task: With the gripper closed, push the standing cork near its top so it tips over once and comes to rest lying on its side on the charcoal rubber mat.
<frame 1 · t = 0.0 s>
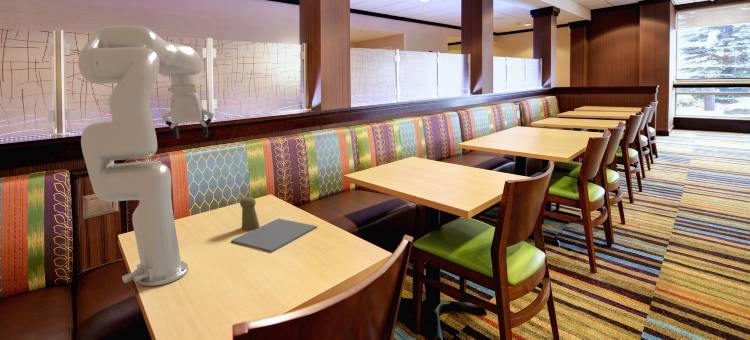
hand: (191, 138, 145), 31 cm above the table, tool pointing down, fingers open, 9 cm apart
cork: (250, 227, 142), on the table
mat: (275, 234, 134), on the table
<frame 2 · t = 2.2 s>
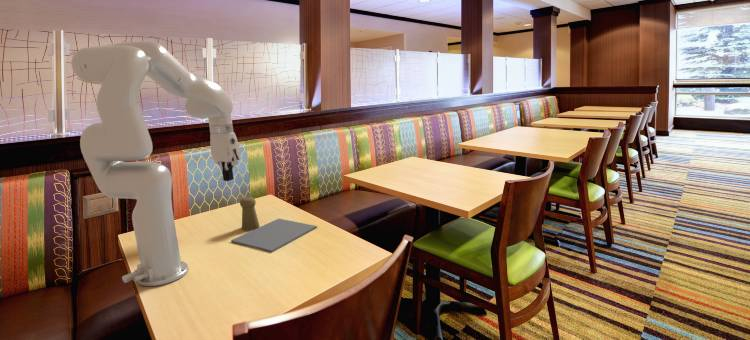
hand: (228, 179, 143), 16 cm above the table, tool pointing down, fingers closed
nothing on the table moved.
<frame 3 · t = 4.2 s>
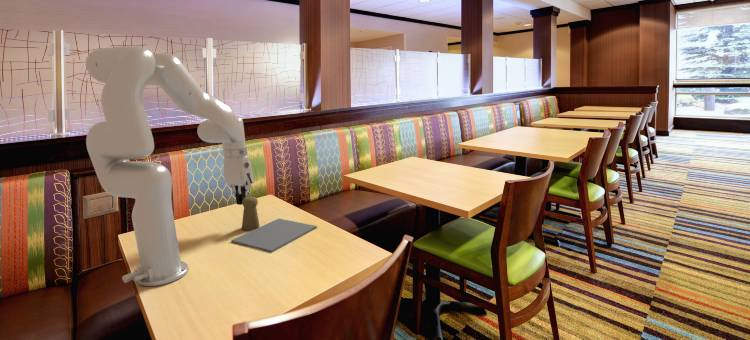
hand: (241, 203, 142), 8 cm above the table, tool pointing down, fingers closed
cork: (250, 227, 142), on the table, touching gripper
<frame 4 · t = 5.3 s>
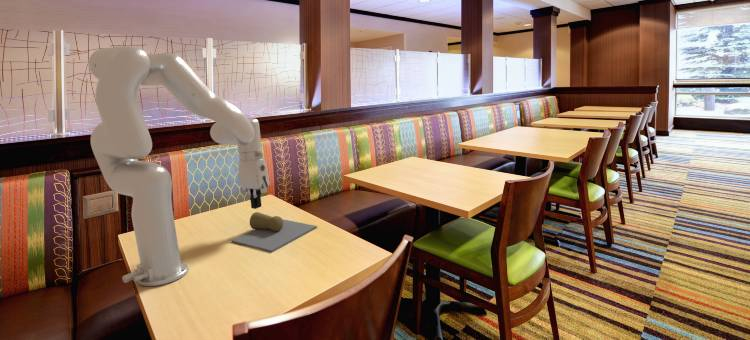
hand: (256, 207, 138), 8 cm above the table, tool pointing down, fingers closed
cork: (255, 220, 140), point 3 cm above the table, touching mat
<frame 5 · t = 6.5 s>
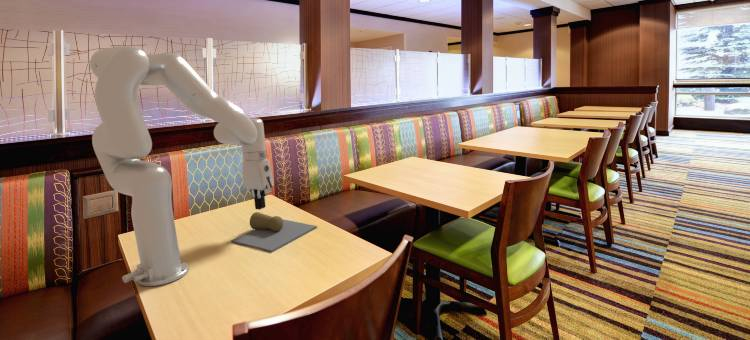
hand: (260, 208, 137), 8 cm above the table, tool pointing down, fingers closed
nothing on the table moved.
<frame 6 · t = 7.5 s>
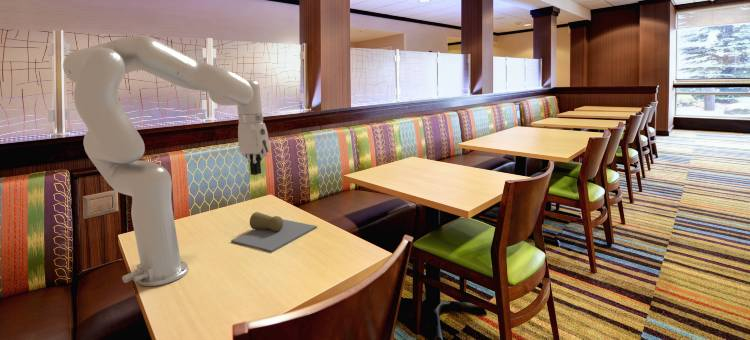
hand: (256, 173, 134), 20 cm above the table, tool pointing down, fingers closed
nothing on the table moved.
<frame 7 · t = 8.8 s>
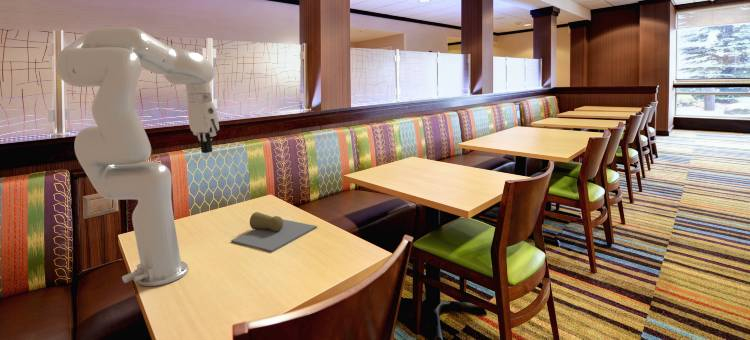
hand: (207, 152, 139), 27 cm above the table, tool pointing down, fingers closed
nothing on the table moved.
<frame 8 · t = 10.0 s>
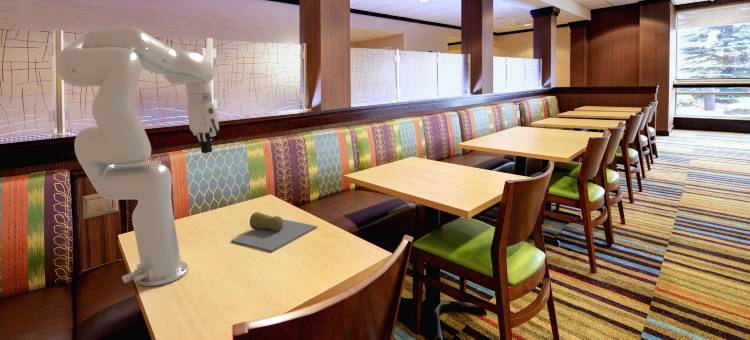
hand: (206, 152, 139), 27 cm above the table, tool pointing down, fingers closed
nothing on the table moved.
at the end: cork tilted 89°; cork touching mat, table; the gripper is holding nothing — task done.
